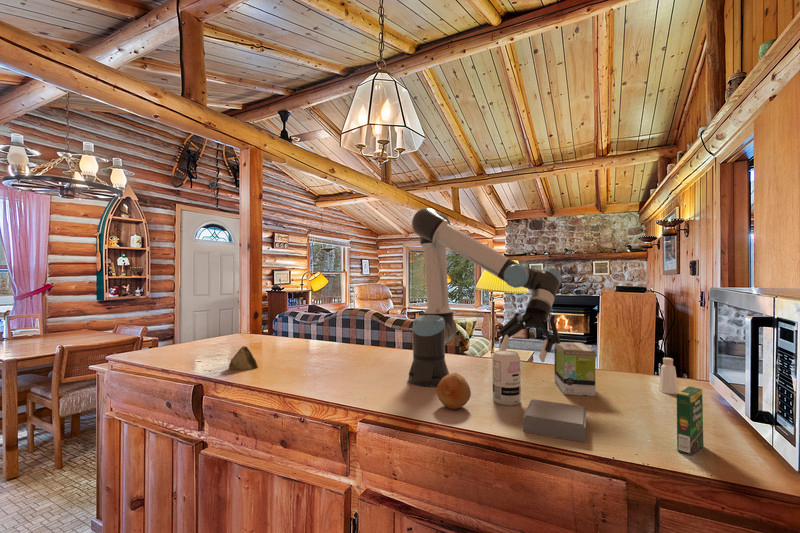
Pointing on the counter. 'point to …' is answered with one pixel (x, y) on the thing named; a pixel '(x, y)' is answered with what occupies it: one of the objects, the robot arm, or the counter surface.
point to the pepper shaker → (668, 377)
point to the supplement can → (506, 378)
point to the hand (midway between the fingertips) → (520, 356)
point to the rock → (243, 360)
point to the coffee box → (689, 420)
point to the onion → (453, 391)
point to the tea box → (575, 368)
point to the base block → (555, 420)
